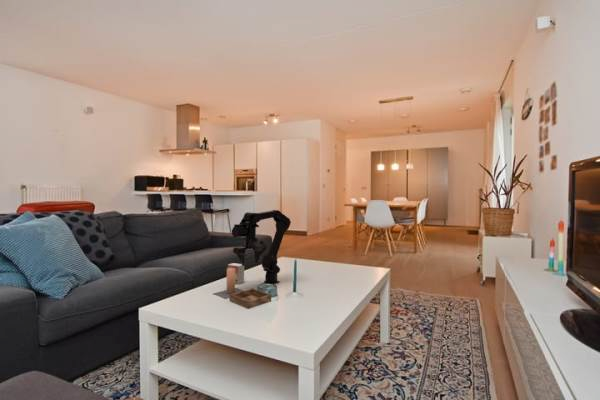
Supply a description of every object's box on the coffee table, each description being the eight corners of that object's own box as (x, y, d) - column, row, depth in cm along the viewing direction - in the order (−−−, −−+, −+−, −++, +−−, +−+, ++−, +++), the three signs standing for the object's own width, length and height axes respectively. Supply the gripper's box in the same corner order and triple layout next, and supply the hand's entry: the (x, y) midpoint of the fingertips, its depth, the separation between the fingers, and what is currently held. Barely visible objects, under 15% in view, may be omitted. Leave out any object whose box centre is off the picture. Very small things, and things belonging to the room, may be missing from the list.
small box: (227, 282, 183) (227, 264, 182) (233, 280, 188) (233, 262, 187) (238, 284, 179) (238, 266, 179) (244, 282, 184) (244, 264, 183)
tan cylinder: (234, 291, 165) (234, 267, 165) (235, 293, 161) (235, 269, 161) (226, 291, 164) (226, 267, 164) (227, 294, 160) (227, 269, 160)
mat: (235, 288, 172) (235, 287, 172) (248, 293, 164) (248, 292, 164) (212, 294, 161) (212, 293, 161) (225, 300, 154) (225, 298, 154)
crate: (252, 295, 162) (252, 288, 162) (271, 302, 152) (271, 294, 152) (229, 301, 152) (229, 294, 151) (247, 309, 142) (247, 302, 142)
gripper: (245, 239, 160) (245, 270, 160) (273, 235, 174) (272, 264, 174) (232, 236, 167) (232, 266, 168) (259, 233, 181) (259, 261, 182)
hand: (249, 264), depth 173 cm, fingers open, 9 cm apart
